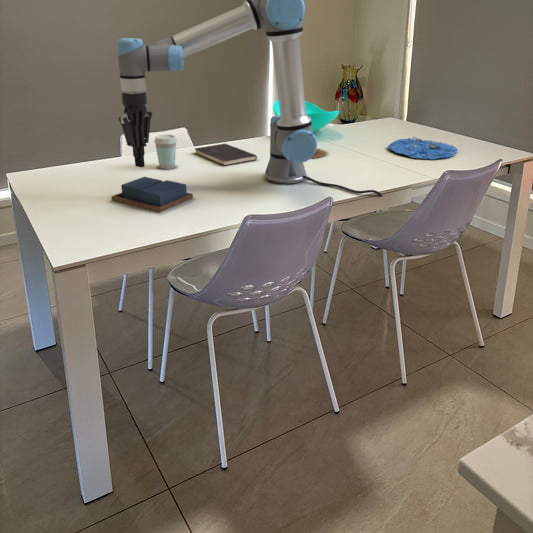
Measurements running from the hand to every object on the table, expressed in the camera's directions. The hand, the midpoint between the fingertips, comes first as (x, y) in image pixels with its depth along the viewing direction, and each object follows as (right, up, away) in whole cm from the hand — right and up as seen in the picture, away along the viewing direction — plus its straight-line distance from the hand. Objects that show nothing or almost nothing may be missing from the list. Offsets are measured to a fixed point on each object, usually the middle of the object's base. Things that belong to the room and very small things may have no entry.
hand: (139, 166), depth 192 cm
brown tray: (+4, -11, +3) cm, 12 cm away
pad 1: (0, -9, +4) cm, 11 cm away
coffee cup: (+2, +6, +39) cm, 39 cm away
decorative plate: (+110, +18, +65) cm, 129 cm away
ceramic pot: (+58, +16, +60) cm, 85 cm away
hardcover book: (+24, +13, +53) cm, 60 cm away
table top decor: (+60, +32, +95) cm, 117 cm away
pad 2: (+8, -12, 0) cm, 14 cm away
